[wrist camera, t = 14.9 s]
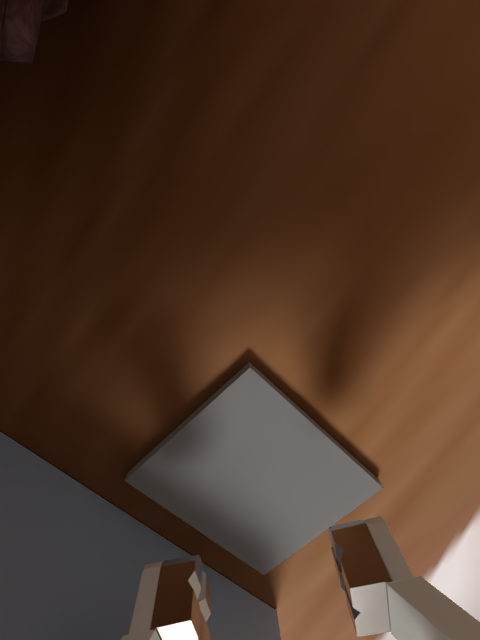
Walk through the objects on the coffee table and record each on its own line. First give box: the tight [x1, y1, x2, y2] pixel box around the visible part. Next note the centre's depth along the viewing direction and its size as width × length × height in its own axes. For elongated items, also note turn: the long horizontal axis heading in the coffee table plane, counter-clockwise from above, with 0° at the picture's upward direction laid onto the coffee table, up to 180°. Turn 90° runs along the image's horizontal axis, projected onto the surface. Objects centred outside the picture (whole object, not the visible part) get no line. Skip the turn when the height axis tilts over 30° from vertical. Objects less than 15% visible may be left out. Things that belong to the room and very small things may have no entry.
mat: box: [125, 362, 383, 575], centre depth 12 cm, size 6×7×1 cm
